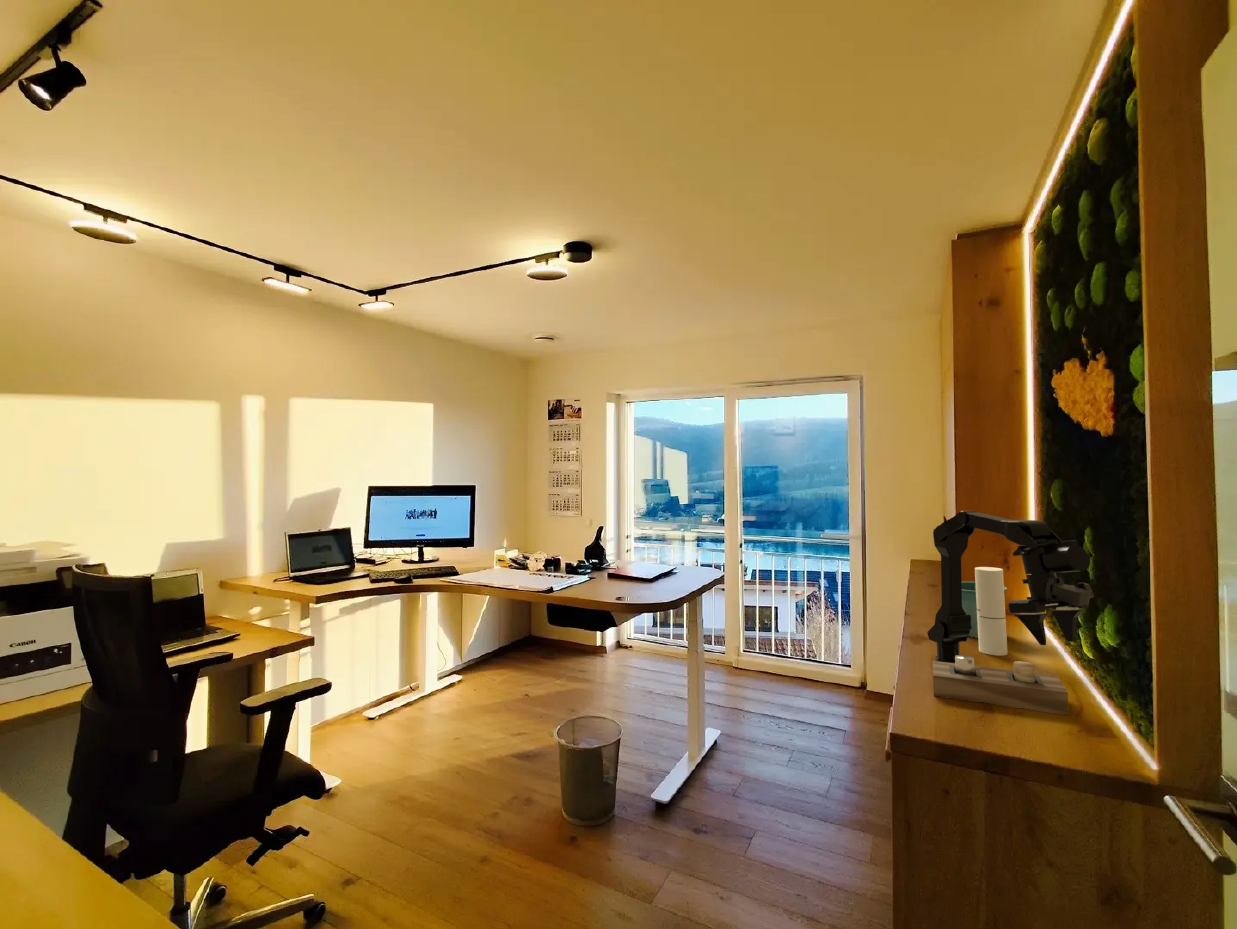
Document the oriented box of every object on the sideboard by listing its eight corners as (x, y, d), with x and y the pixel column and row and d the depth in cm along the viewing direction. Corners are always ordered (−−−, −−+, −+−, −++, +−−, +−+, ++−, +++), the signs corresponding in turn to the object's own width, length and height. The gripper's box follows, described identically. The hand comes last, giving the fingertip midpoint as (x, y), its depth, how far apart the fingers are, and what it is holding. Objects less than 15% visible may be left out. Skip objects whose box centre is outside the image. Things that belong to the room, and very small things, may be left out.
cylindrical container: (998, 648, 169) (994, 566, 170) (1012, 655, 162) (1008, 570, 163) (974, 648, 170) (969, 567, 171) (987, 655, 163) (982, 570, 164)
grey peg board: (933, 679, 145) (932, 660, 145) (1057, 695, 132) (1056, 675, 132) (933, 696, 135) (932, 675, 135) (1068, 715, 122) (1067, 692, 122)
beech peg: (1013, 680, 133) (1012, 660, 133) (1033, 682, 131) (1032, 662, 132) (1015, 685, 130) (1014, 665, 130) (1036, 688, 128) (1035, 667, 128)
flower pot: (983, 643, 174) (980, 592, 175) (939, 630, 190) (937, 583, 190) (1021, 638, 179) (1019, 588, 179) (976, 625, 195) (974, 580, 195)
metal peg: (955, 673, 139) (954, 654, 139) (974, 675, 137) (973, 656, 137) (956, 678, 136) (955, 658, 136) (975, 680, 134) (974, 661, 134)
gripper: (1049, 573, 119) (1067, 649, 115) (1105, 569, 125) (1124, 641, 121) (999, 576, 129) (1015, 646, 125) (1053, 572, 135) (1070, 639, 131)
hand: (1057, 643), depth 125 cm, fingers open, 9 cm apart
